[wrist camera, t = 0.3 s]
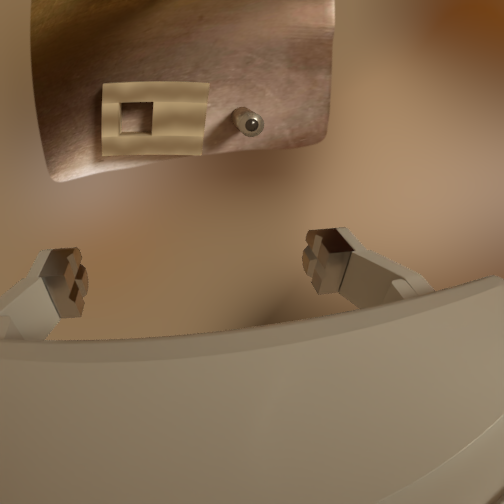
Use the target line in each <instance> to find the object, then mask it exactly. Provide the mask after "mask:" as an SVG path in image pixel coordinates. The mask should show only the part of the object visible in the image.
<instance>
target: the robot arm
mask: <svg viewBox="0 0 504 504" xmlns="http://www.w3.org/2000/svg"><path fill="white" fill-rule="evenodd" d="M306 242H307V243H308V246H307V247H306V248H305V249H304V251H303V256H302V261H303V268H304V271H305V272H306V274H307V275H308V276H310V277H312V282H311V283H312V285H313V287H314V288H315V290H316V292H317V293H318V295H319V294H320V295H321V294H329V293H336V292H339V294H341V295H342V296H343V297H345V298H346V299H347V300H349V301H350V302H351V303H353V304H354V305H355V306H357V307H358V308H360V309H357V310H353V311H347V312H342V313H337V314H331V315H326V316H321V317H315V318H309V319H303V320H297V321H290V322H284V323H277V324H271V325H264V326H256V327H249V328H241V329H234V330H225V331H216V332H207V333H197V334H187V335H175V336H162V337H149V338H132V339H109V340H67V341H66V340H64V341H63V340H56V341H55V340H45V339H46V337H47V336H48V334H50V332H51V331H52V330H53V328H54V327H55V326H56V325H57V323H58V322H59V321H60V318H75V317H81V315H82V311H83V307H84V300H83V297H84V296H85V295H86V294H87V291H88V276H87V271H86V268H85V267H84V266H83V265H81V264H80V263H81V260H82V256H81V252H80V250H79V249H78V248H77V247H74V248H60V249H47V250H42V251H40V252H39V254H38V256H37V257H36V259H35V261H34V263H33V265H32V267H31V269H30V271H29V273H28V275H27V277H26V278H23V279H21V280H20V281H19V282H18V283H16V284H15V285H14V286H13V287H12V288H10V289H9V290H8V291H7V292H5V293H4V294H3V295H2V296H1V297H0V504H504V279H502V278H500V277H498V276H494V275H492V276H487V277H484V278H481V279H478V280H474V281H471V282H467V283H464V284H460V285H457V286H453V287H450V288H446V289H442V290H439V291H435V290H434V289H433V288H432V287H431V286H430V284H429V283H428V282H427V281H426V280H425V279H424V278H423V277H422V275H421V274H419V273H417V272H415V271H413V270H411V269H409V268H407V267H405V266H403V265H401V264H398V263H397V262H394V261H392V260H390V259H388V258H386V257H384V256H382V255H380V254H378V253H376V252H373V251H372V250H366V248H365V247H364V246H363V245H362V244H361V243H360V242H359V240H358V239H357V238H356V237H355V236H354V235H353V234H352V233H351V231H350V230H349V229H348V228H346V227H341V228H331V229H318V230H309V231H308V233H307V236H306Z"/></svg>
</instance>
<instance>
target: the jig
mask: <svg viewBox="0 0 504 504" xmlns="http://www.w3.org/2000/svg"><path fill="white" fill-rule="evenodd" d="M209 86H210V84H209V83H202V82H181V81H135V82H114V83H105V84H103V92H102V156H120V155H200V156H202V147H203V137H204V128H205V119H206V110H207V102H208V94H209ZM124 102H154V104H153V119H152V132H121V128H122V103H124Z"/></svg>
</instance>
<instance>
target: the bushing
mask: <svg viewBox="0 0 504 504" xmlns="http://www.w3.org/2000/svg"><path fill="white" fill-rule="evenodd" d="M231 120H232V122H233V124H234V125H235V126H236V127H237V128H238V129H239V130H240V131H241V132H242V133H243V134H244V135H245V136H248V137H254V136H257V135H259V134H260V133H261V132H262V130H263V128H264V121H263V119H262V118H261V116H259V115H258V114H256V113H255V112H253V111H251V110H250V109H248V108H246V107H239V108H236V109H235V110H234V111H233V113H232V115H231Z"/></svg>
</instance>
